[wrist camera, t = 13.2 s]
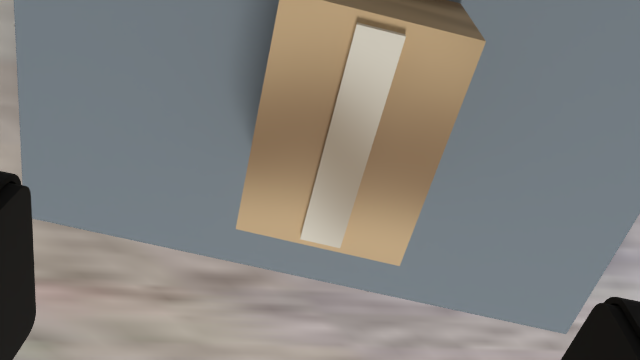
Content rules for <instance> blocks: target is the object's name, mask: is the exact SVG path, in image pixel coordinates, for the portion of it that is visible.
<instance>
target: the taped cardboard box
mask: <svg viewBox="0 0 640 360" xmlns="http://www.w3.org/2000/svg"><path fill="white" fill-rule="evenodd" d="M485 43H486V41H485V39H484V38H483V36H482V35H481V33H480V32H479V30H478V29H477V27H476V26H475V24H474V23H473V21H472V20H471V18H470V17H469V15H468V14H467V12H466V11H465V9H464V8H463V6H462V5H461V4H460V3H457V2H453V1H449V0H279V4H278V9H277V15H276V20H275V25H274V30H273V36H272V41H271V46H270V51H269V57H268V62H267V67H266V72H265V78H264V83H263V88H262V93H261V99H260V104H259V109H258V114H257V120H256V125H255V130H254V135H253V140H252V146H251V151H250V156H249V161H248V167H247V172H246V177H245V182H244V188H243V193H242V198H241V203H240V209H239V214H238V219H237V224H236V229H238V230H242V231H246V232H251V233H255V234H260V235H264V236H269V237H273V238H277V239H282V240H286V241H291V242H295V243H300V244H304V245H308V246H313V247H317V248H322V249H326V250H330V251H335V252H339V253H344V254H348V255H353V256H357V257H361V258H366V259H370V260H375V261H379V262H383V263H388V264H392V265H397V266H400V264H401V261H402V259H403V256H404V254H405V251H406V248H407V246H408V243H409V241H410V238H411V235H412V233H413V230H414V228H415V225H416V222H417V220H418V217H419V215H420V212H421V209H422V207H423V204H424V202H425V199H426V196H427V194H428V191H429V189H430V186H431V183H432V181H433V178H434V176H435V173H436V170H437V168H438V165H439V163H440V160H441V157H442V155H443V152H444V150H445V147H446V144H447V142H448V139H449V137H450V134H451V131H452V129H453V126H454V124H455V121H456V118H457V116H458V113H459V111H460V108H461V105H462V103H463V100H464V98H465V95H466V92H467V90H468V87H469V85H470V82H471V79H472V77H473V74H474V72H475V69H476V66H477V64H478V61H479V59H480V56H481V53H482V51H483V48H484V46H485Z"/></svg>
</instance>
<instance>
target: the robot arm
mask: <svg viewBox="0 0 640 360" xmlns="http://www.w3.org/2000/svg"><path fill="white" fill-rule="evenodd" d="M35 315H36V303H35V279H34V255H33V231H32V207H31V192H30V189H29V187H27V186H23V185H21V181H20V179H19V177H18V176H17V175H15V174H11V173H6V172H1V171H0V360H13V358H14V357H15V355H16V354H17V352H18V351H19V349H20V348H21V346H22V344H23V343H24V341H25V340H26V338H27V337H28V335H29V333H30V331H31V329H32V327H33V324H34V321H35ZM561 360H640V302H638V301H634V300H629V299H624V298H619V297H611V298H609V299H607V300H606V301H605V302H604V303H599V304H597V305H596V306H595V307H594V308H593V310H592V311H591V313H590V314H589V316H588V317H587V319H586V321H585V322H584V324H583V325H582V327H581V329H580V330H579V332H578V333H577V335H576V337H575V338H574V340H573V341H572V343H571V345H570V346H569V348H568V349H567V351H566V353H565V354H564V356H563V357H562V359H561Z"/></svg>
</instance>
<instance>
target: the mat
mask: <svg viewBox="0 0 640 360" xmlns="http://www.w3.org/2000/svg"><path fill="white" fill-rule="evenodd" d="M449 1H453V2H457V3H460V4H461V5H462V6H463V8H464V9H465V11H466V12H467V14H468V15H469V17H470V18H471V20H472V21H473V23H474V24H475V26H476V27H477V29H478V30H479V32H480V33H481V35H482V36H483V38H484V39H485V41H486V43H485V46H484V48H483V51H482V53H481V56H480V59H479V61H478V64H477V66H476V69H475V72H474V74H473V77H472V79H471V82H470V85H469V87H468V90H467V92H466V95H465V98H464V100H463V103H462V105H461V108H460V111H459V113H458V116H457V118H456V121H455V124H454V126H453V129H452V131H451V134H450V137H449V139H448V142H447V144H446V147H445V150H444V152H443V155H442V157H441V160H440V163H439V165H438V168H437V170H436V173H435V176H434V178H433V181H432V183H431V186H430V189H429V191H428V194H427V196H426V199H425V202H424V204H423V207H422V209H421V212H420V215H419V217H418V220H417V222H416V225H415V228H414V230H413V233H412V235H411V238H410V241H409V243H408V246H407V248H406V251H405V254H404V256H403V259H402V261H401V264H400V266H397V265H392V264H388V263H383V262H379V261H375V260H370V259H366V258H361V257H357V256H353V255H348V254H344V253H339V252H335V251H330V250H326V249H322V248H317V247H313V246H308V245H304V244H300V243H295V242H291V241H286V240H282V239H277V238H273V237H269V236H264V235H260V234H255V233H251V232H246V231H242V230H238V229H236V224H237V219H238V214H239V209H240V203H241V198H242V193H243V188H244V182H245V177H246V172H247V167H248V161H249V156H250V151H251V146H252V140H253V135H254V130H255V125H256V120H257V114H258V109H259V104H260V99H261V93H262V88H263V83H264V78H265V72H266V67H267V62H268V57H269V51H270V46H271V41H272V36H273V30H274V25H275V20H276V15H277V9H278V4H279V0H14V14H15V35H16V56H17V77H18V98H19V119H20V140H21V160H22V181H23V186H27V187H29V189H30V192H31V207H32V218H33V219H37V220H42V221H47V222H51V223H56V224H60V225H65V226H70V227H74V228H79V229H83V230H88V231H93V232H97V233H102V234H107V235H111V236H116V237H120V238H125V239H130V240H134V241H139V242H143V243H148V244H153V245H157V246H162V247H167V248H171V249H176V250H180V251H185V252H190V253H194V254H199V255H203V256H208V257H213V258H217V259H222V260H227V261H231V262H236V263H240V264H245V265H250V266H254V267H259V268H263V269H268V270H273V271H277V272H282V273H287V274H291V275H296V276H300V277H305V278H310V279H314V280H319V281H323V282H328V283H333V284H337V285H342V286H347V287H351V288H356V289H360V290H365V291H370V292H374V293H379V294H383V295H388V296H393V297H397V298H402V299H407V300H411V301H416V302H420V303H425V304H430V305H434V306H439V307H443V308H448V309H453V310H457V311H462V312H467V313H471V314H476V315H480V316H485V317H490V318H494V319H499V320H503V321H508V322H513V323H517V324H522V325H527V326H531V327H536V328H540V329H545V330H550V331H554V332H559V333H563V334H566V333H567V332H568V330H569V328H570V327H571V325H572V323H573V322H574V320H575V319H576V317H577V315H578V314H579V312H580V310H581V309H582V307H583V305H584V304H585V302H586V300H587V299H588V297H589V296H590V294H591V292H592V291H593V289H594V287H595V286H596V284H597V282H598V281H599V279H600V278H601V276H602V274H603V273H604V271H605V269H606V268H607V266H608V264H609V263H610V261H611V259H612V258H613V256H614V255H615V253H616V251H617V250H618V248H619V246H620V245H621V243H622V241H623V240H624V238H625V237H626V235H627V233H628V232H629V230H630V228H631V227H632V225H633V223H634V222H635V220H636V218H637V217H638V215H639V214H640V0H449Z"/></svg>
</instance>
